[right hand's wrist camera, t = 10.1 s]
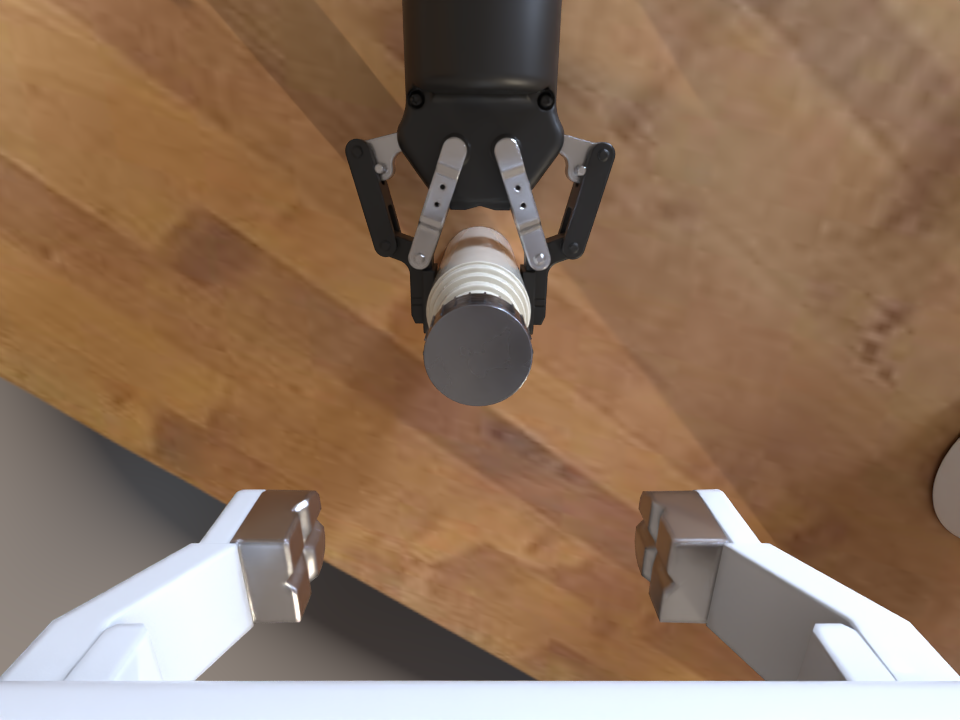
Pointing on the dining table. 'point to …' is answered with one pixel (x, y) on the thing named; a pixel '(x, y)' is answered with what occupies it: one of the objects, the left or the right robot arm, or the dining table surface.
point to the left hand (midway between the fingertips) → (478, 328)
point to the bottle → (478, 271)
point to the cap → (478, 349)
